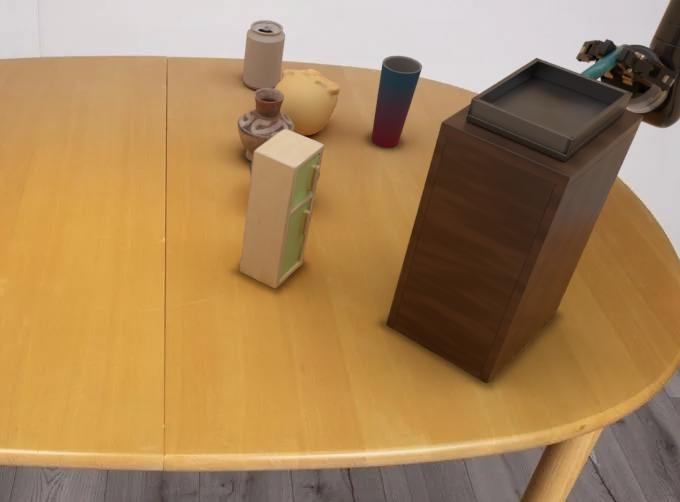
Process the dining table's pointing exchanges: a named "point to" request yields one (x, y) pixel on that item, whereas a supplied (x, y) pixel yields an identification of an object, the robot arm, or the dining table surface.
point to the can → (263, 54)
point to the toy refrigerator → (280, 206)
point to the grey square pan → (551, 106)
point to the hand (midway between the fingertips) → (613, 51)
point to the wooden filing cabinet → (499, 239)
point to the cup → (394, 99)
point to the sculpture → (307, 99)
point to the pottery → (263, 121)
